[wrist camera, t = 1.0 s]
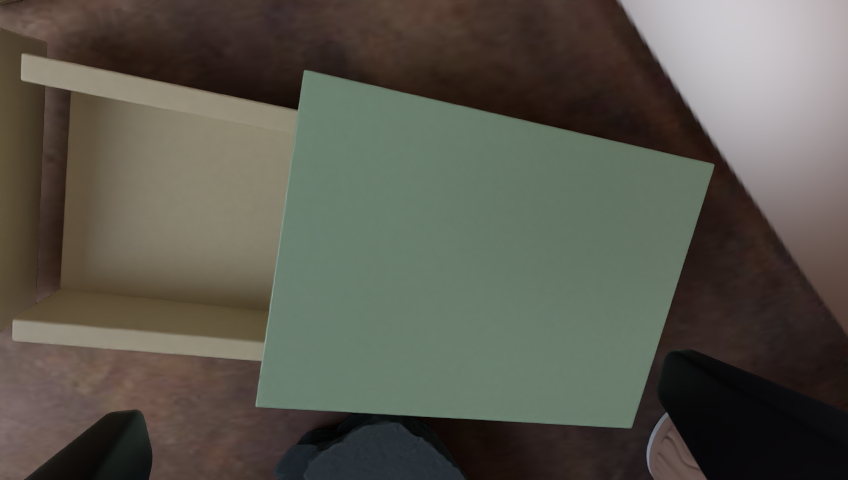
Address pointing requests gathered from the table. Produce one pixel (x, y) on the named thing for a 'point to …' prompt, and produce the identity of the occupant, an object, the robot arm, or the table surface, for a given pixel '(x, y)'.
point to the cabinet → (469, 262)
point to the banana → (8, 1)
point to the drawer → (142, 210)
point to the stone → (371, 452)
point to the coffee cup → (670, 454)
